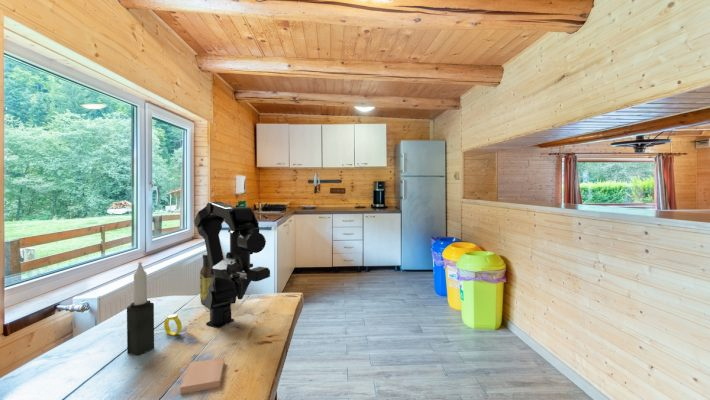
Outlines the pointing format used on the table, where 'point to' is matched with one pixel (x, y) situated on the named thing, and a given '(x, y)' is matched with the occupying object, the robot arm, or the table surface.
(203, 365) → the tile
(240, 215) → the robot arm
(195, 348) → the table surface
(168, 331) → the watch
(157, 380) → the table surface
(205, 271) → the sauce bottle
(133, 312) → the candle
